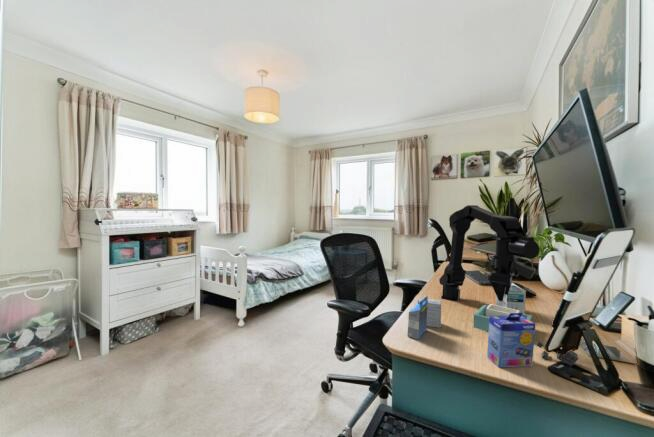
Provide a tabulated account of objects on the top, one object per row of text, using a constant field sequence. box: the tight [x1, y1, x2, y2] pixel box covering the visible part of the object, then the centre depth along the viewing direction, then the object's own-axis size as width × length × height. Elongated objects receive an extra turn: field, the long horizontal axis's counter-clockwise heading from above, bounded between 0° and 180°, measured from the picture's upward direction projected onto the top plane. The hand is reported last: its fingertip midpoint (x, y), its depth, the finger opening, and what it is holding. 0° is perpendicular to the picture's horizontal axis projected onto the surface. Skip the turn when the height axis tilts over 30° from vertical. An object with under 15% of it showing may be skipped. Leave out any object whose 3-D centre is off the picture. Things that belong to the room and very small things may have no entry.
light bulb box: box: [495, 282, 527, 314], centre depth 111 cm, size 11×7×11 cm, turn 168°
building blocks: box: [536, 341, 579, 366], centre depth 77 cm, size 3×6×8 cm
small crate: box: [486, 303, 520, 317], centre depth 96 cm, size 9×6×6 cm, turn 47°
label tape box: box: [407, 295, 429, 340], centre depth 92 cm, size 9×4×12 cm, turn 145°
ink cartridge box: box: [487, 313, 536, 368], centre depth 75 cm, size 10×6×14 cm, turn 95°
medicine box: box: [417, 297, 442, 328], centre depth 99 cm, size 8×4×9 cm, turn 71°
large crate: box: [473, 304, 533, 333], centre depth 96 cm, size 15×13×5 cm
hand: (503, 297), depth 96 cm, fingers open, 9 cm apart
